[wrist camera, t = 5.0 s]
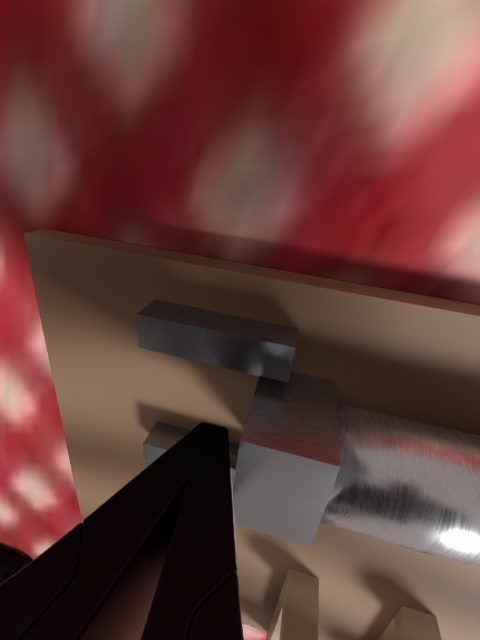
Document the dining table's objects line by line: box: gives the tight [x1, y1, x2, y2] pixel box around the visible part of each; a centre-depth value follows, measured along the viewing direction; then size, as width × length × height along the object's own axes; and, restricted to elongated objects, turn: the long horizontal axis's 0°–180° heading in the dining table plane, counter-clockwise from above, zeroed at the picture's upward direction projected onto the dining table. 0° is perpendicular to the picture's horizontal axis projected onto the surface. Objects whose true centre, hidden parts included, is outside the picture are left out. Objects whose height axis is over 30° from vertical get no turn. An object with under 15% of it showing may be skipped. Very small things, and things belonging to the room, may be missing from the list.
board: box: [23, 228, 480, 640], centre depth 12 cm, size 18×18×1 cm
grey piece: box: [233, 371, 480, 570], centre depth 8 cm, size 8×3×3 cm, turn 84°
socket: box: [137, 299, 299, 491], centre depth 9 cm, size 6×4×1 cm
